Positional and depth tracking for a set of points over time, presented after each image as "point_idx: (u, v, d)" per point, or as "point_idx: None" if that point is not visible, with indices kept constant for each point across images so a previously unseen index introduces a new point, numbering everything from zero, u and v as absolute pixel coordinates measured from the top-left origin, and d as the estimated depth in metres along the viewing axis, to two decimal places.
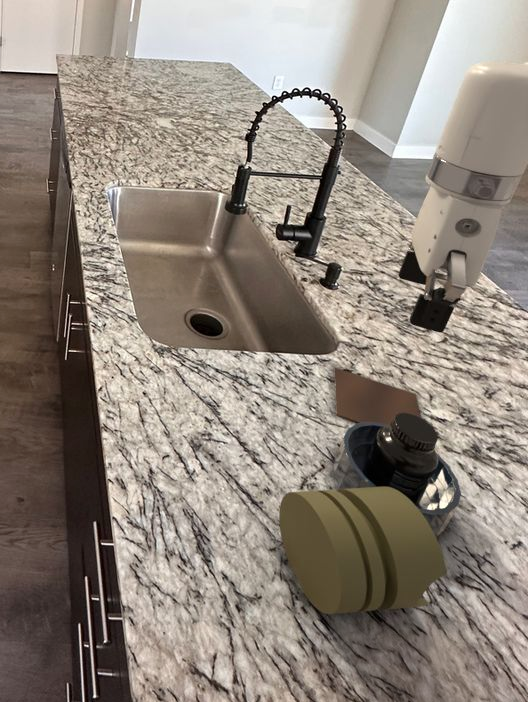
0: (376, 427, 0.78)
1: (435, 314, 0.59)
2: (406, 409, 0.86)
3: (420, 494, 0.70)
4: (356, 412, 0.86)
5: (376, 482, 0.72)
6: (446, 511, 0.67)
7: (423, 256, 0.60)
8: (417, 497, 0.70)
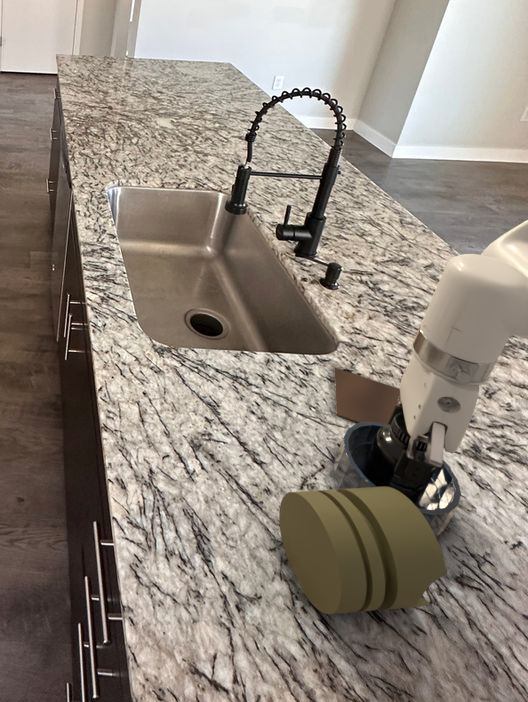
0: (376, 427, 0.78)
1: (416, 470, 0.67)
2: None
3: (420, 494, 0.70)
4: (356, 412, 0.86)
5: (376, 482, 0.72)
6: (446, 511, 0.67)
7: (409, 419, 0.66)
8: (417, 497, 0.70)
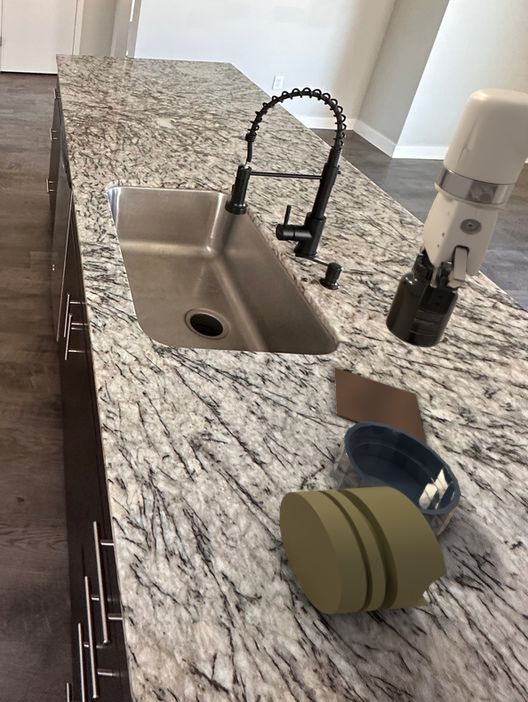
0: (376, 427, 0.78)
1: (440, 299, 0.72)
2: (406, 409, 0.86)
3: (442, 328, 0.75)
4: (356, 412, 0.86)
5: (400, 322, 0.78)
6: (446, 511, 0.67)
7: (433, 251, 0.72)
8: (439, 331, 0.76)
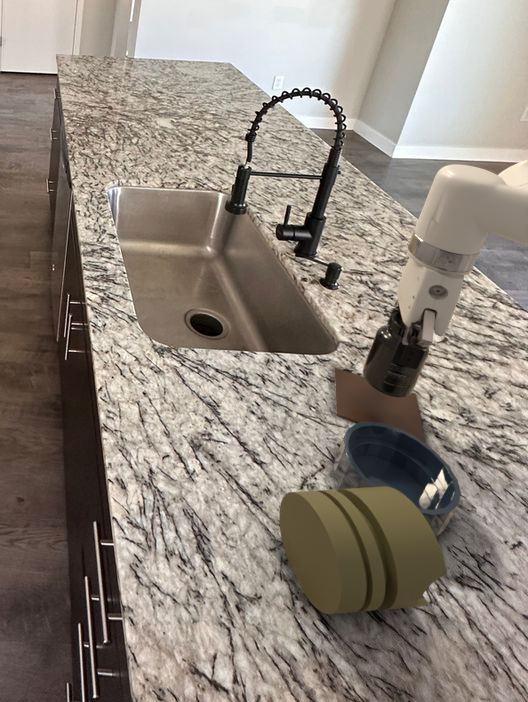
0: (376, 427, 0.78)
1: (411, 355, 0.78)
2: (406, 409, 0.86)
3: (414, 380, 0.81)
4: (356, 412, 0.86)
5: (376, 373, 0.83)
6: (446, 511, 0.67)
7: (404, 310, 0.77)
8: (411, 383, 0.81)
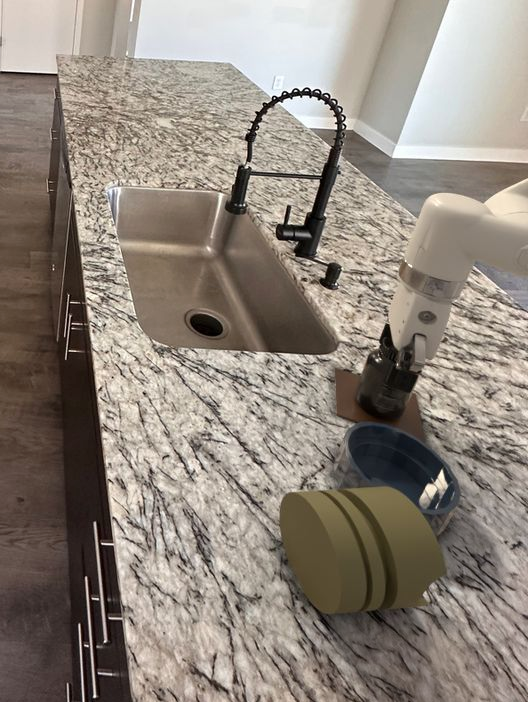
0: (376, 427, 0.78)
1: (404, 379, 0.78)
2: (406, 409, 0.86)
3: (404, 404, 0.83)
4: (356, 412, 0.86)
5: (367, 396, 0.85)
6: (446, 511, 0.67)
7: (395, 334, 0.79)
8: (401, 406, 0.83)
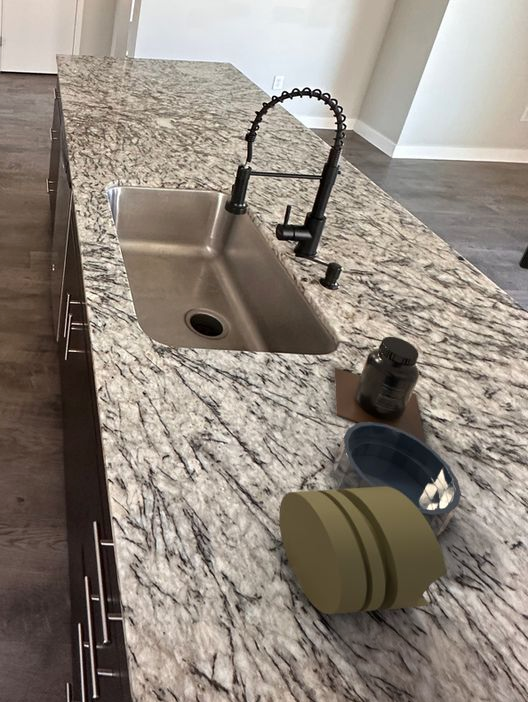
0: (376, 427, 0.78)
1: None
2: (406, 409, 0.86)
3: (404, 403, 0.83)
4: (356, 412, 0.86)
5: (367, 396, 0.85)
6: (446, 511, 0.67)
7: None
8: (401, 406, 0.83)
